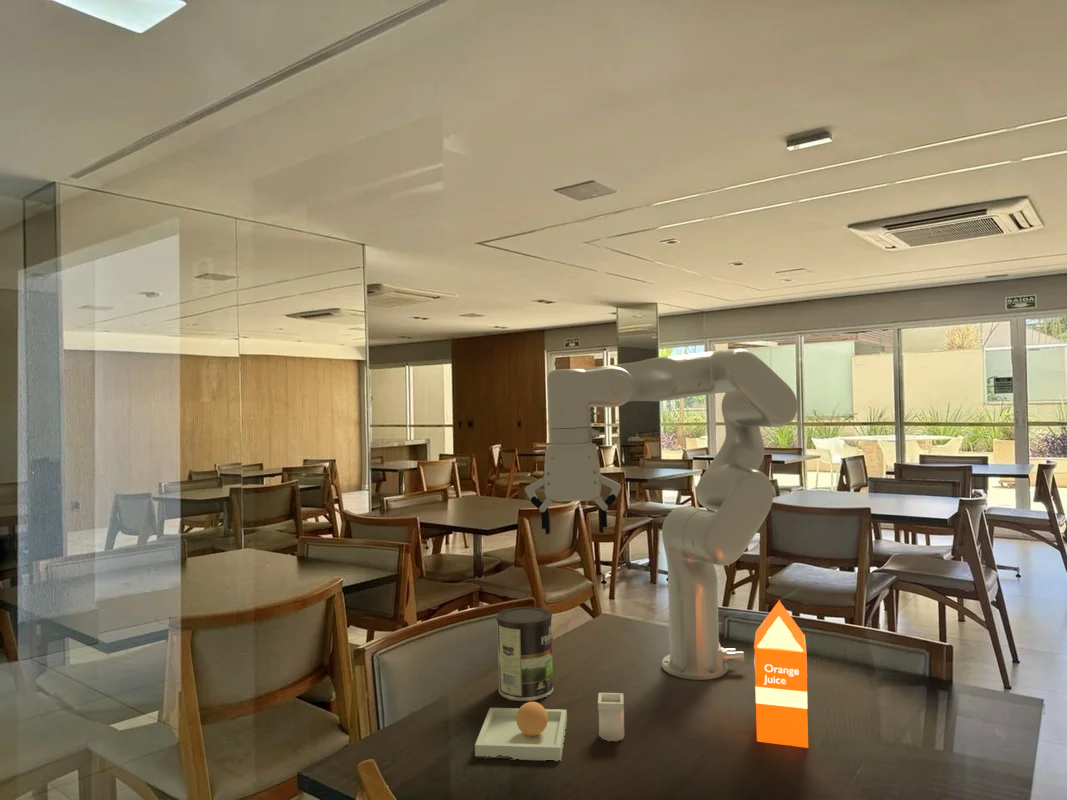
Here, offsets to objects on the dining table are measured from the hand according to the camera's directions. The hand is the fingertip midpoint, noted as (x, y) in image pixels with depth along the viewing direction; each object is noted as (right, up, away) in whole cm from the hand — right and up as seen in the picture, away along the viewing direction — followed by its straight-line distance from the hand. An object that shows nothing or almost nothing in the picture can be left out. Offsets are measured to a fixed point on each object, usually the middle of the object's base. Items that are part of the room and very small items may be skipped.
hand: (574, 532), depth 131 cm
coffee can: (-9, -30, +4) cm, 32 cm away
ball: (-8, -27, -16) cm, 32 cm away
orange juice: (+32, -29, -15) cm, 46 cm away
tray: (-9, -30, -15) cm, 35 cm away
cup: (+5, -30, -15) cm, 34 cm away
